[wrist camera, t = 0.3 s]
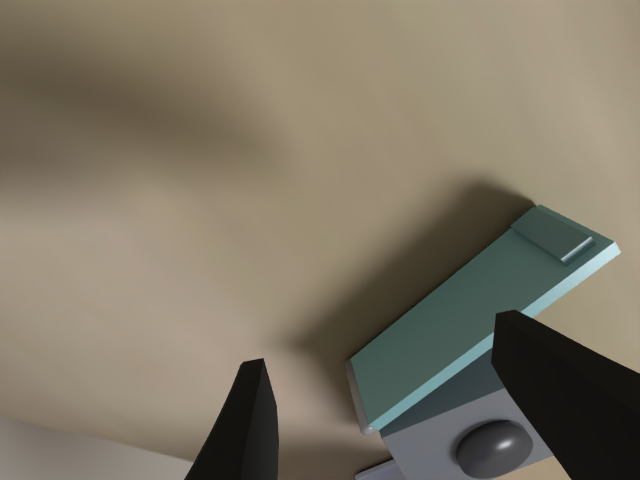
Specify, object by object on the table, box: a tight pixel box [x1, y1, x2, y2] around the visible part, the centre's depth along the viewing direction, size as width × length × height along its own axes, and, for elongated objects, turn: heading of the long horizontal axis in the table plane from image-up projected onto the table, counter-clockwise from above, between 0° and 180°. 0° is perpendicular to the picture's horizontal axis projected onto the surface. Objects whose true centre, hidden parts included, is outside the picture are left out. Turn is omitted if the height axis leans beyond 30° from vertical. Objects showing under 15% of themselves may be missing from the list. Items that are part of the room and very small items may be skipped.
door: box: [344, 205, 621, 435], centre depth 20 cm, size 1×16×5 cm, turn 135°
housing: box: [379, 348, 553, 480], centre depth 23 cm, size 8×11×6 cm
